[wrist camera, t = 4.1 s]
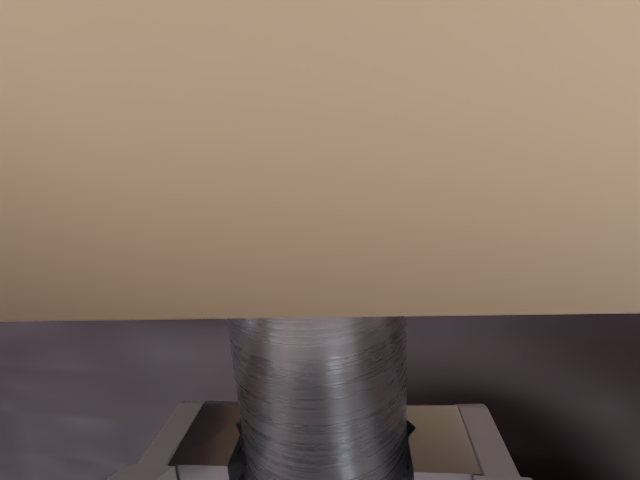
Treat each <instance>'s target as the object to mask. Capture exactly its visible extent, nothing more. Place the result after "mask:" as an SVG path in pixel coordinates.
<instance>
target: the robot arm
mask: <svg viewBox="0 0 640 480" xmlns="http://www.w3.org/2000/svg"><path fill="white" fill-rule="evenodd" d="M106 480H249V477H248V470H247V463H246V455H245V448H244V441H243V434H242V427H241V419H240V412H239V405H238V402H229V401H189V400H184V401H183V402H181V403H179V404H178V405H177V406H176V408H175V409H174V411H173V412H172V414H171V415H170V417H169V418H168V420H167V421H166V423H165V424H164V425H163V427H162V428H161V430H160V431H159V433H158V434H157V436H156V437H155V439H154V440H153V442H152V443H151V445H150V446H149V447H148V449H147V450H146V452H145V453H144V455H143V456H142V458H141V459H140V461H139V462H138V464H137V465H127V466H126V467H124V468H123V469H121V470H120V471H118V472H117V473H115V474H113V475H112V476H110V477H109V478H107V479H106ZM407 480H533V479H531V478H530V477H520V475H519V473H518V471H517V469H516V467H515V464H514V462H513V460H512V458H511V456H510V454H509V452H508V450H507V448H506V446H505V443H504V441H503V439H502V437H501V435H500V433H499V431H498V429H497V427H496V425H495V422H494V420H493V418H492V416H491V414H490V412H489V410H488V408H487V407H486V406H485V405H484V404H456V405H407Z"/></svg>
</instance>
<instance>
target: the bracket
mask: <svg viewBox="0 0 640 480" xmlns="http://www.w3.org/2000/svg"><path fill="white" fill-rule="evenodd" d="M624 313H640V0H0V321H78V320H156V319H234V318H312V317H390V316H468V315H546V314H624Z"/></svg>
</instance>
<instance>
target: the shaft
mask: <svg viewBox="0 0 640 480" xmlns="http://www.w3.org/2000/svg"><path fill="white" fill-rule="evenodd" d="M227 326H228V333H229V340H230V347H231V355H232V362H233V369H234V376H235V383H236V391H237V398H238V405H239V412H240V419H241V427H242V434H243V441H244V448H245V455H246V463H247V470H248V477H249V480H407V355H406V316H390V317H312V318H234V319H227Z"/></svg>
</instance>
